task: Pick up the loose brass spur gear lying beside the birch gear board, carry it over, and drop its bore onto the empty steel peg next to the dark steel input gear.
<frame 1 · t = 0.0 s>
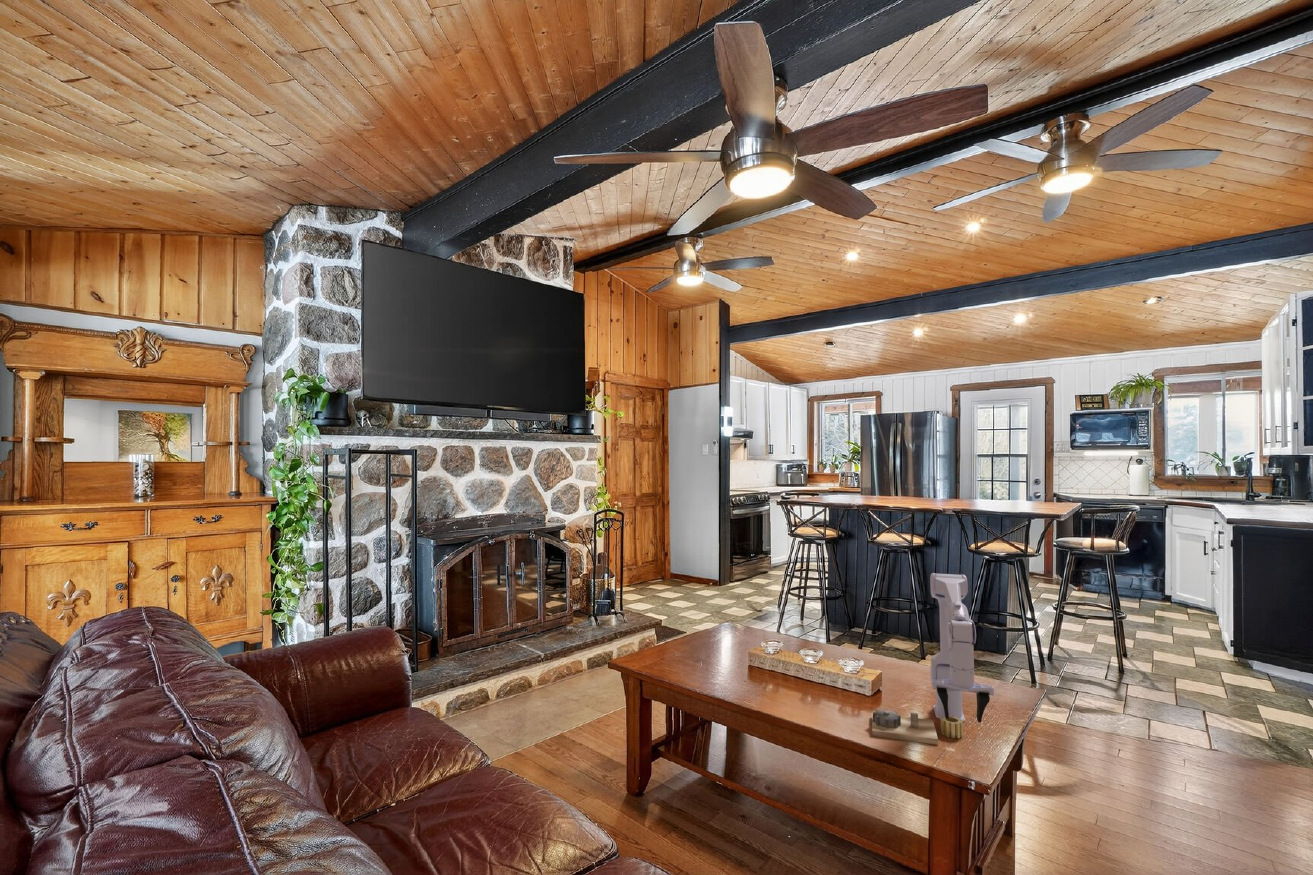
hand: (962, 718, 160), 10 cm above the table, fingers open, 7 cm apart
brass gear: (951, 733, 173), on the table
gear board: (903, 730, 175), on the table
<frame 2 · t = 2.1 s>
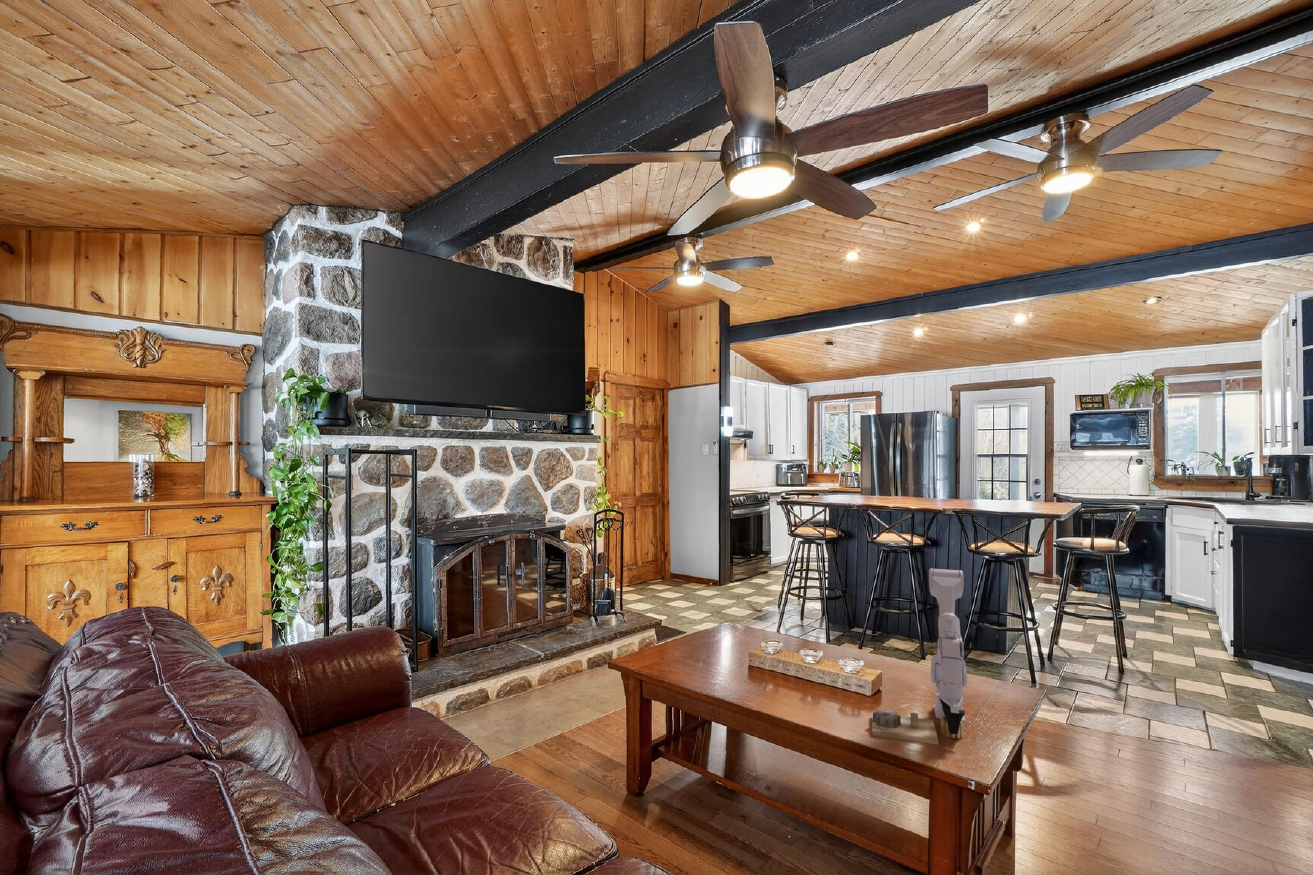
hand: (951, 728, 173), 1 cm above the table, fingers closed on brass gear, 6 cm apart
brass gear: (951, 733, 173), on the table, touching gripper
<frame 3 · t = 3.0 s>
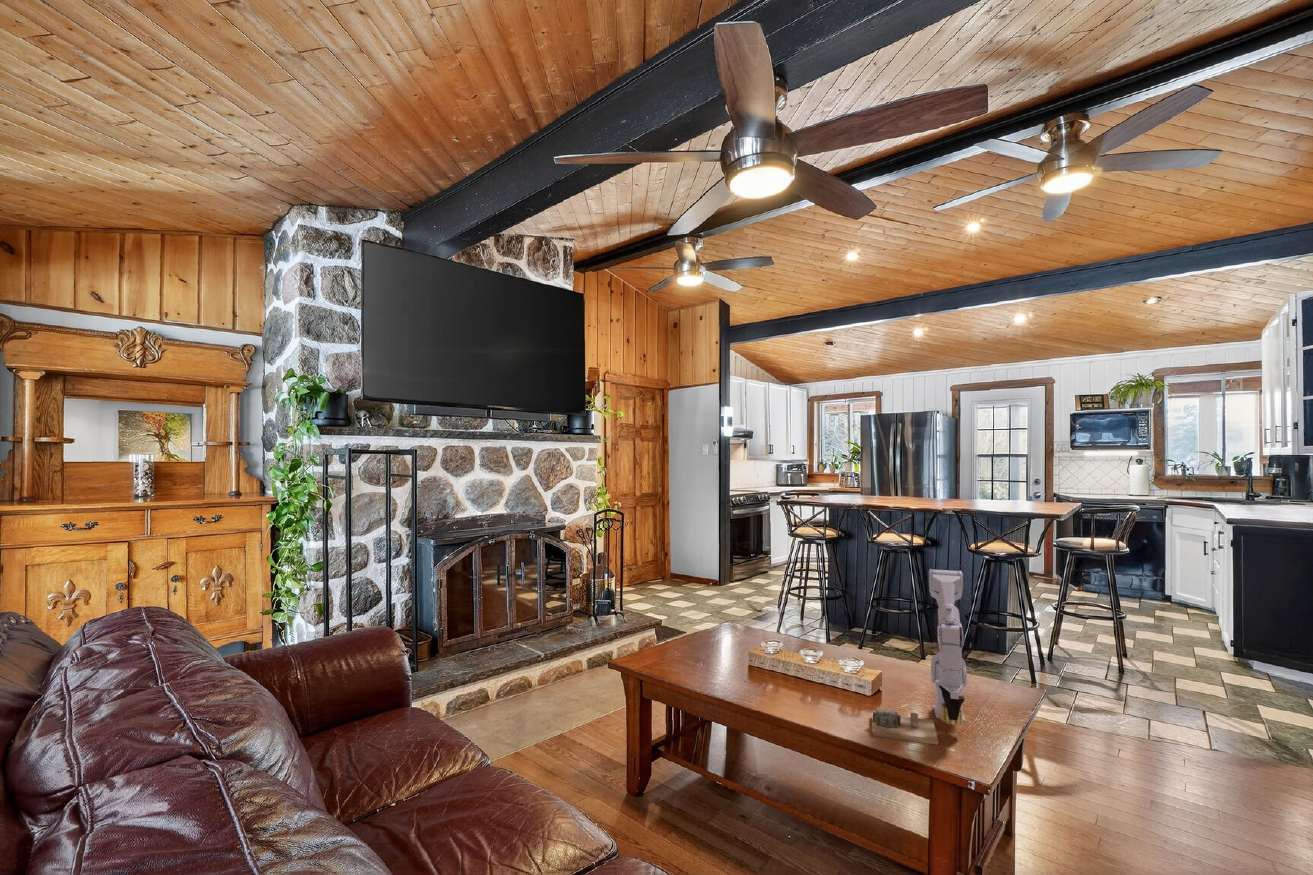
hand: (951, 715, 173), 5 cm above the table, fingers closed on brass gear, 6 cm apart
brass gear: (951, 720, 173), point 4 cm above the table, touching gripper
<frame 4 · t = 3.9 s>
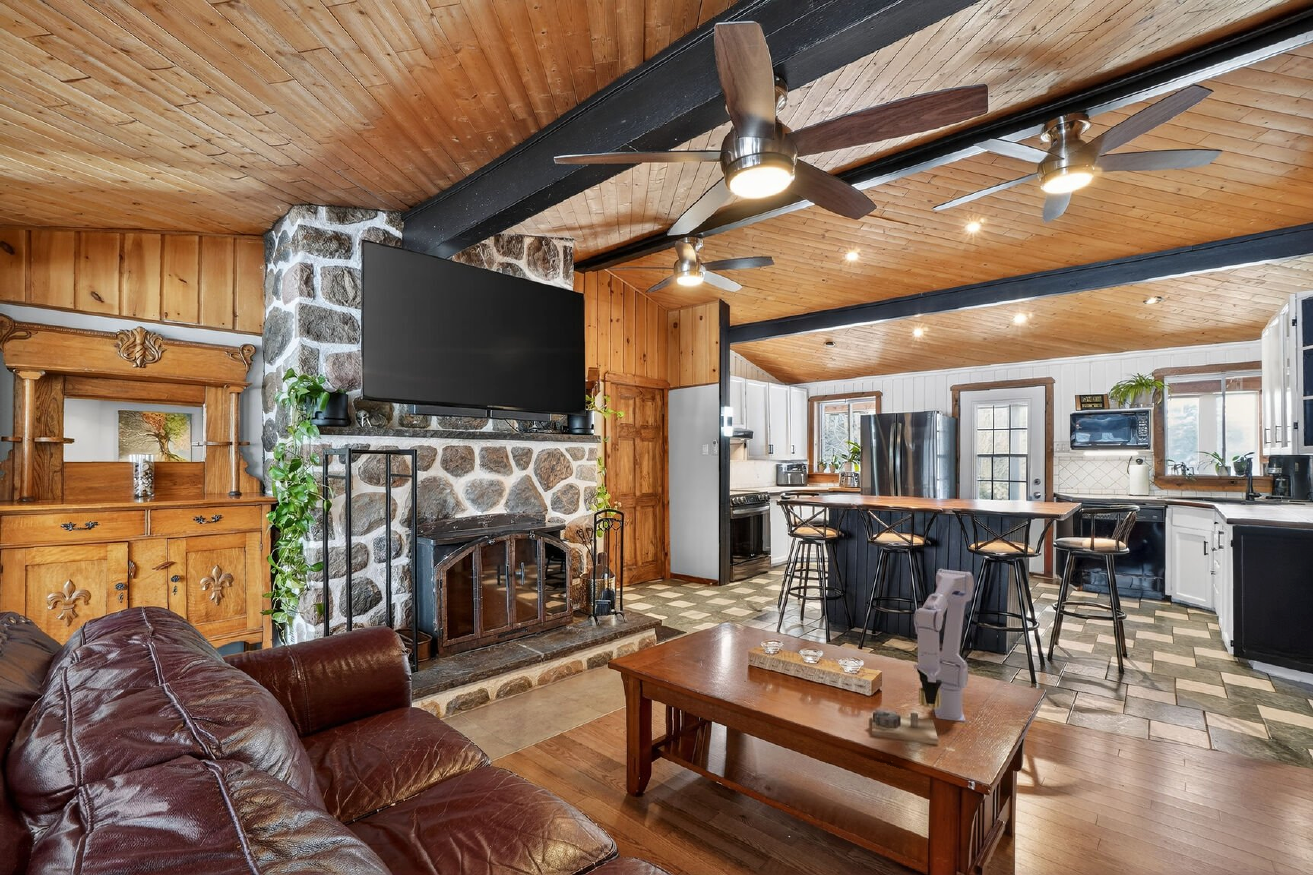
hand: (929, 699, 174), 9 cm above the table, fingers closed on brass gear, 6 cm apart
brass gear: (929, 704, 174), point 8 cm above the table, touching gripper
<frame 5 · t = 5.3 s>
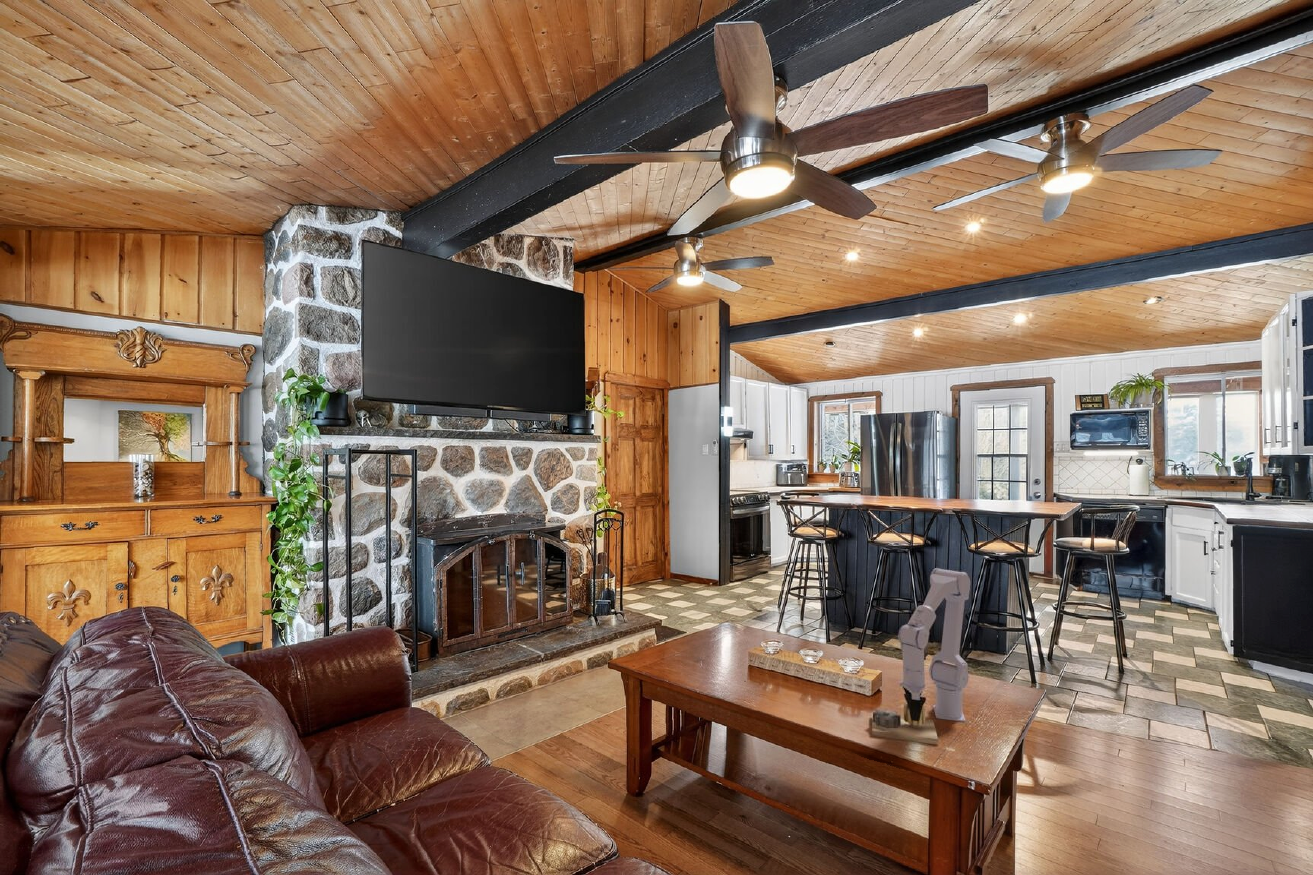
hand: (914, 715, 174), 4 cm above the table, fingers closed on brass gear, 6 cm apart
brass gear: (914, 720, 174), point 3 cm above the table, touching gripper
when the fingers open (4 cm above the table, at t = 6.1 s): brass gear stays where it is, resting on gear board.
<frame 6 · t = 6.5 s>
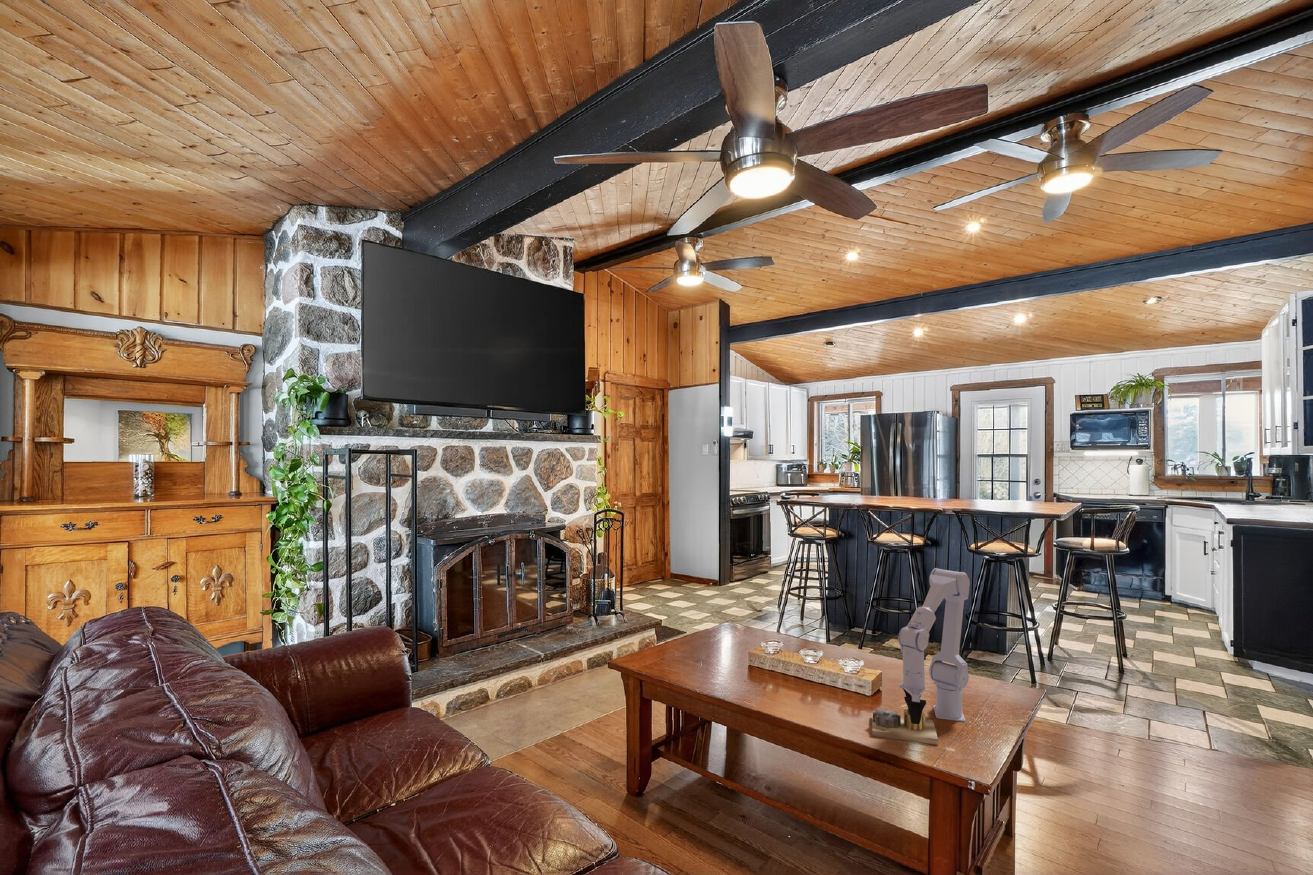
hand: (914, 717, 174), 4 cm above the table, fingers open, 7 cm apart
brass gear: (914, 726, 174), point 1 cm above the table, touching gear board
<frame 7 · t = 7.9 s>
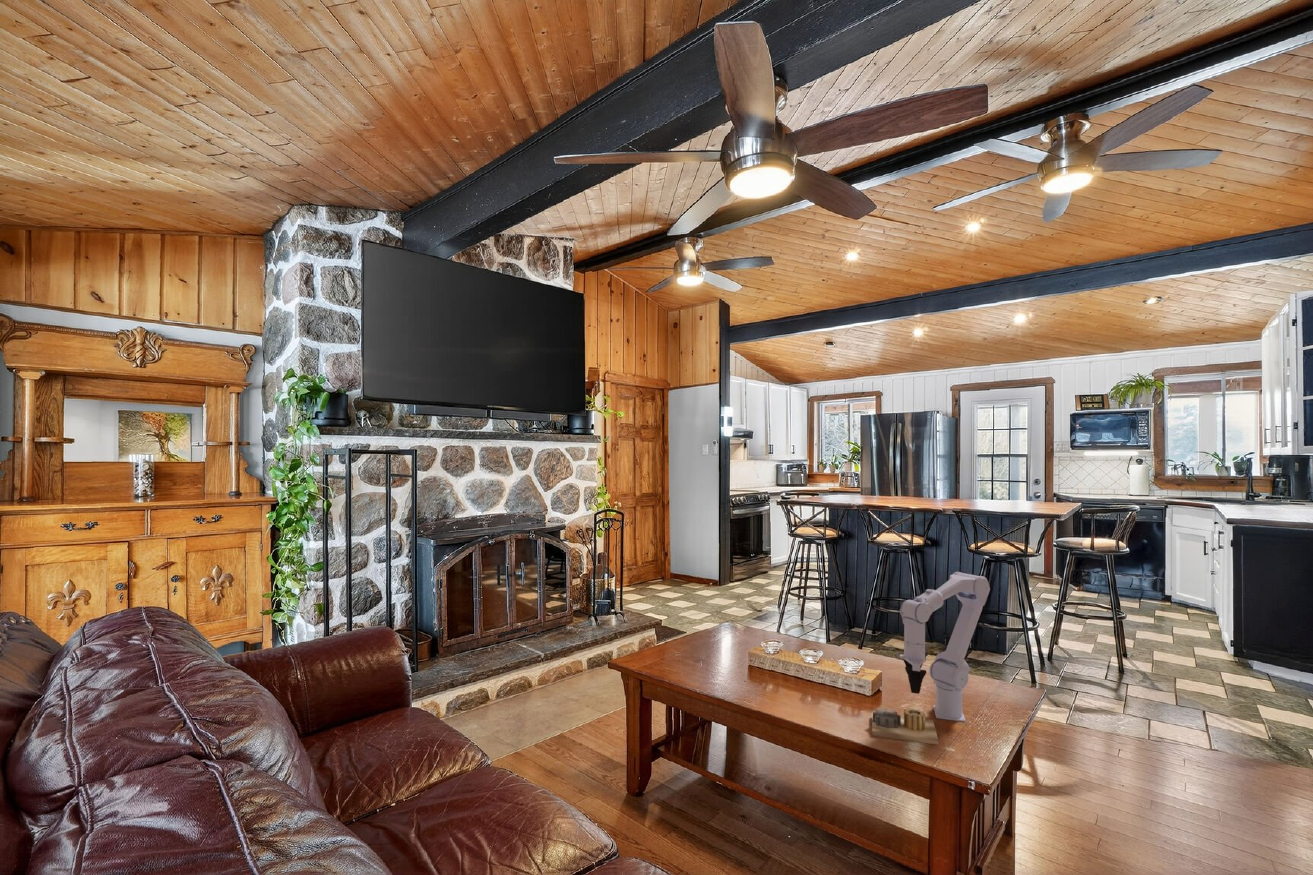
hand: (914, 688, 180), 10 cm above the table, fingers open, 7 cm apart
nothing on the table moved.
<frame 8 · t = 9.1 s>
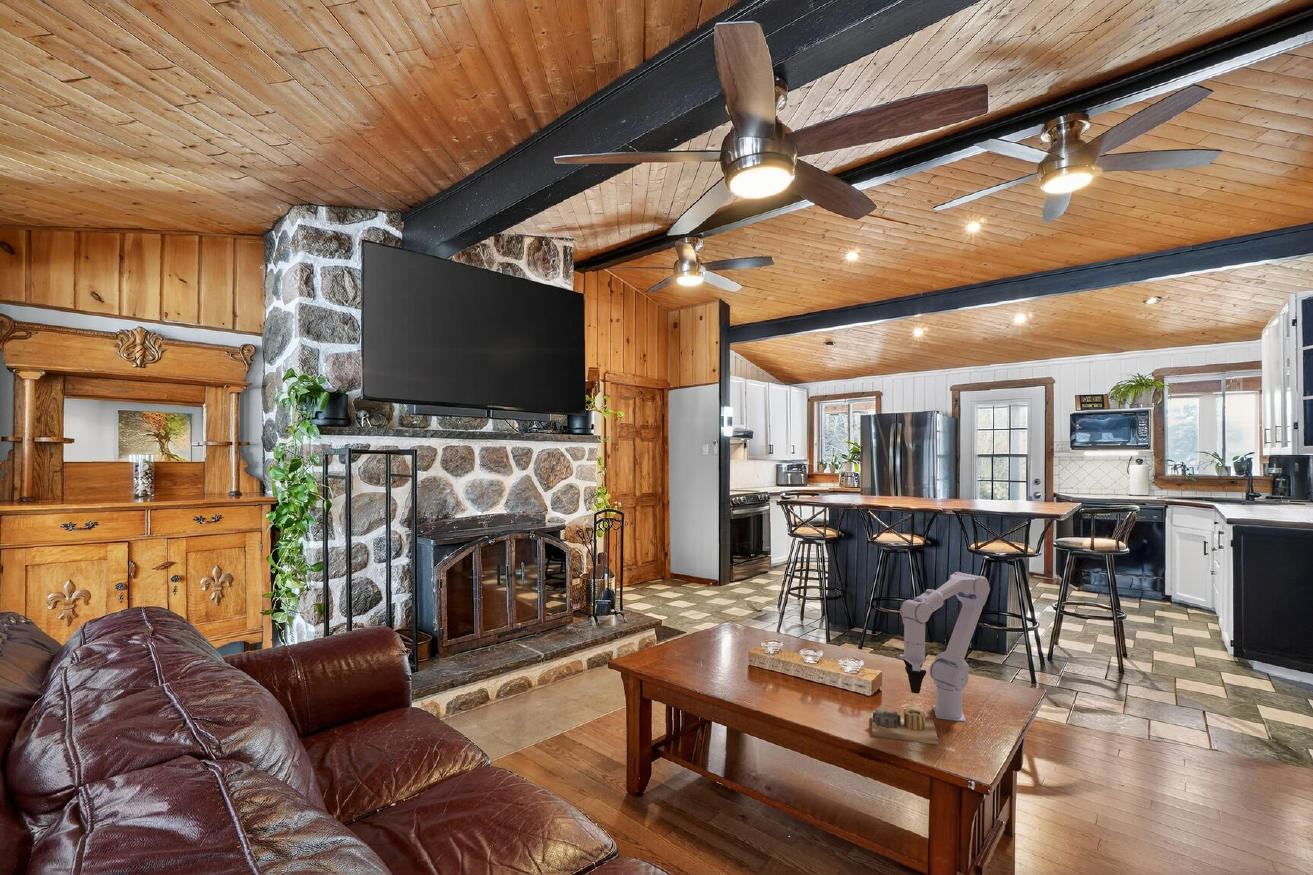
hand: (914, 688, 180), 10 cm above the table, fingers open, 7 cm apart
nothing on the table moved.
at the end: brass gear 0.0 cm from the target spot on the gear board, point 1.5 cm above the gear board's base; brass gear tilted 0°; the gripper is holding nothing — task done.
